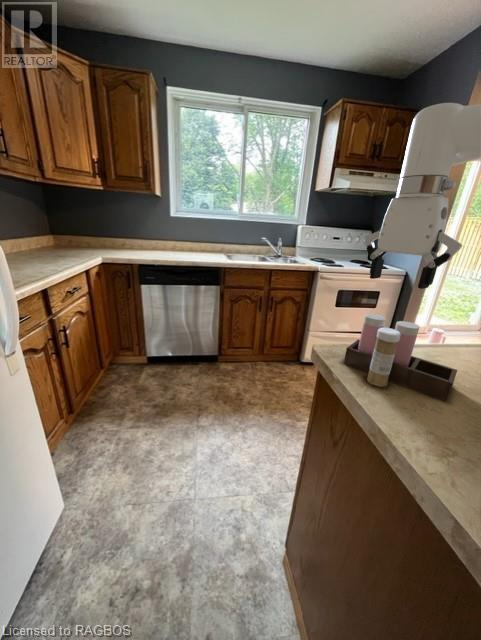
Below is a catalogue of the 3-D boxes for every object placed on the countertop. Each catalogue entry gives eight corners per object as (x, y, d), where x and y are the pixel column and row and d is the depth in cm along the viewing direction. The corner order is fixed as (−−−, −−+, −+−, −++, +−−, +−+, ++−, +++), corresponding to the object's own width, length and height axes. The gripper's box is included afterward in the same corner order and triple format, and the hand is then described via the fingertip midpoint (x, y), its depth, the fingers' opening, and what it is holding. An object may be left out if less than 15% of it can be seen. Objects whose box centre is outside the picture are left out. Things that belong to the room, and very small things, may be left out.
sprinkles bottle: (386, 380, 66) (399, 329, 62) (387, 389, 62) (402, 336, 58) (366, 375, 68) (377, 325, 63) (366, 384, 64) (378, 332, 59)
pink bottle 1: (377, 361, 74) (388, 316, 69) (371, 368, 70) (382, 321, 66) (359, 355, 77) (368, 312, 72) (352, 361, 73) (362, 316, 69)
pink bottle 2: (407, 372, 69) (421, 324, 65) (402, 379, 66) (417, 330, 61) (387, 365, 72) (399, 319, 68) (381, 371, 69) (394, 324, 64)
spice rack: (451, 386, 65) (457, 369, 63) (446, 401, 59) (453, 383, 57) (355, 353, 79) (358, 339, 78) (343, 363, 73) (346, 347, 72)
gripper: (487, 189, 45) (454, 290, 51) (384, 194, 58) (368, 273, 64) (471, 184, 41) (437, 294, 46) (364, 190, 54) (349, 276, 60)
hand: (397, 282), depth 55 cm, fingers open, 9 cm apart
